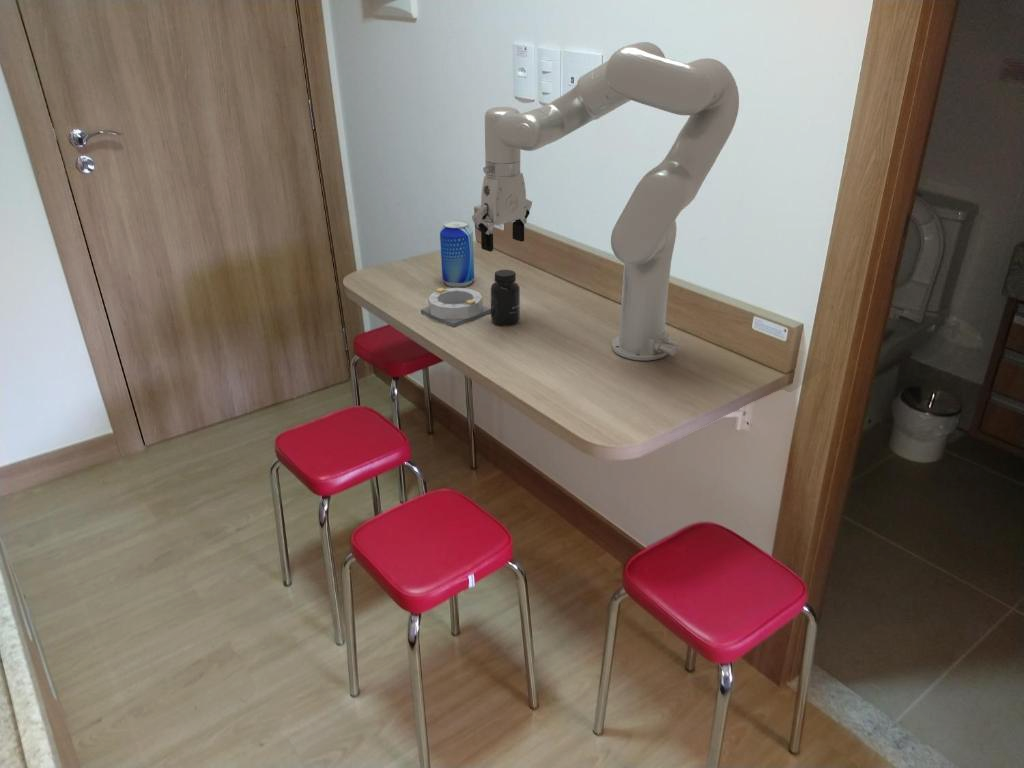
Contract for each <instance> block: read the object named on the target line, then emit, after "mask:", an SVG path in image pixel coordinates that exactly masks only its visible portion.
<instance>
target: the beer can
mask: <svg viewBox="0 0 1024 768" xmlns="http://www.w3.org/2000/svg"><path fill="white" fill-rule="evenodd" d="M439 240H440V243H439V244H440V256H441V257H440V259H441V260H440V261H441V274H442V275H441V277H442V281H444V283H445V284H447V286H448V287H450V288H451V287H452V288H465V287H468V286H470V285H471V284H472V283H473V281H474V280H475V263H474V260H475V259H474V256H475V255H474V231H473V230H472V228H471V226H470V225H469V221H467V220H463V219H451V220H446V221H444V222H443V223H442V228H441V230H440V232H439ZM469 284H470V285H469ZM467 285H468V286H467Z"/></svg>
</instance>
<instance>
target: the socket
mask: <svg viewBox="0 0 1024 768" xmlns="http://www.w3.org/2000/svg"><path fill="white" fill-rule="evenodd" d="M427 299H428V306H427V307H424V308H423V307H422V308H421V309H420V314H422V315H424V316H426V317H429V318H430V319H433V320H435V321H438V322H440V323H442V324H445V325H447V326H449V327H452V328H456V327H458V326H461V325H464V324H466V323H469V322H471V321H474V320H476V319H477V320H478V318H481V317H484V316H486V315H489V314H491V307H487V306H485V305H483V296H482V294H481V293H480V292H479V291H477V290H474V289H471V288H465V287H452V288H451V287H449V288H443V287H439V288H437V289H435V292H432V293H431V295H429V297H428V298H427Z"/></svg>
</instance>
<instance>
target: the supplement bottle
mask: <svg viewBox="0 0 1024 768" xmlns="http://www.w3.org/2000/svg"><path fill="white" fill-rule="evenodd" d="M516 279H517V278H516V272H515V271H514V270H512V269H500V270H499V269H498V270H496V271H495V272H494V282H493V283H492V284H491V286H490V309H491V313H490V320H491V322H492V323H493V324H494V325H496V326H500V327H510V326H514V325H516V324H518V323H519V322H520V319H521V317H520V316H521V315H520V314H521V288H520V287H521V286H520V285H519V284H518V283H517V281H516Z"/></svg>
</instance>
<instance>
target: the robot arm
mask: <svg viewBox="0 0 1024 768" xmlns="http://www.w3.org/2000/svg"><path fill="white" fill-rule="evenodd" d="M738 88H739V87H738V85H737V82H736V80H735V77H734V76H733V74H732V71H730V69H729V68H728V67H727V66H726V65H725V64H724V63H723V62H722V61H719V60H718V59H715V58H708V57H707V58H699V59H696V60H694V61H691V62H688V63H685V62H681V61H679V60H678V61H677V60H675V59H670V58H667V57H666V56H665V53H664V52H663V51H662V49H661V48H660V47H659V46H657V45H656V44H655V43H652V42H648V41H642V42H641V41H639V42H637V43H632V44H629V45H625V46H623V47H620V48H618V49H617V50H616V51H614V52H613V54H611V56H610V58H609V59H608V60H607V61H605V62H603V63H602V64H600V65H598V66H597V67H594V68H593V69H591V70H590V71H588V72H586V73H585V74H583V75H581V76H580V77H579V78H578V80H577V82H576V84H575V86H574V87H572V89H570V90H568V91H567V92H566V93H564V94H562V95H561V96H560V97H557V98H556V99H555V100H553V101H551V102H548V103H546V104H545V105H543V106H540V107H537V108H535V109H532V110H528V111H524V112H520V111H519V110H518V109H517V108H514V107H510V106H497V107H491V108H488V110H486V112H485V114H484V154H485V155H484V157H485V158H484V159H485V162H484V163H485V164H484V165H485V166H484V167H483V168H482V171H483V173H484V174H485V175H483V181H482V186H481V187H482V188H481V196H480V197H481V199H480V208H479V209H478V210H477V211H476V212H475V213H474V214H473V215H472V216H471V219H472V221H473V223H474V226H475V228H476V229H477V231H478V232H479V233H480V235H481V237H480V238H481V239H480V240H481V241H480V243H481V250H484V251H488V252H490V253H491V252H493V251H494V234H493V233H492V231H493V229H494V228H495V226H500V225H504V224H507V223H512V239H513V240H514V241H515V240H516V241H518V242H521V243H522V242H524V241H525V225H526V224H527V220H528V219H527V218H528V217H529V216H530V210H531V209H532V206H533V201H532V200H529V199H527V194H526V193H527V191H526V182H525V178H524V174H523V172H521V151H525V152H532V151H536V150H539V149H541V148H543V147H545V146H547V145H550V144H552V143H554V142H557V141H559V140H560V139H563V138H564V137H565V136H568V135H569V134H571V133H573V132H575V131H577V130H579V129H580V128H581V127H583V126H585V125H587V124H588V123H591V122H593V121H594V120H595V121H597V120H598V119H601V117H604V116H606V115H607V114H609V113H611V112H613V111H615V110H616V109H617V108H620V107H622V106H623V105H625V104H626V103H628V102H631V101H633V102H636V103H639V104H642V105H645V106H648V107H652V108H655V109H657V110H660V111H663V112H667V113H670V114H674V115H679V116H689V117H688V119H687V121H686V122H685V123H684V125H683V127H682V128H681V129H680V131H679V133H678V134H677V137H676V139H675V141H674V142H673V144H672V146H671V148H670V149H669V151H668V153H667V154H666V156H665V157H664V159H663V160H662V161H661V162H660V163H659V164H658V165H656V166H655V167H653V168H652V169H651V170H649V171H648V172H646V173H645V174H644V175H643V176H642V177H641V179H640V180H639V182H638V183H637V185H636V186H635V188H634V189H633V192H632V193H631V196H630V197H629V199H628V201H627V203H626V204H625V206H624V208H623V210H622V211H621V214H620V215H619V217H618V219H617V221H616V223H615V225H614V226H613V229H612V231H611V235H610V245H611V246H610V247H611V251H612V252H613V254H614V256H615V257H616V258H617V260H618V261H620V262H622V263H623V264H624V265H623V275H622V276H623V278H622V289H621V290H622V291H621V305H620V306H621V307H620V324H619V325H620V326H619V335H617V336H616V337H614V338H613V339H612V341H611V349H612V351H613V352H615V354H617V355H618V356H620V357H623V358H626V359H627V360H628V359H629V360H633V361H644V362H645V361H646V362H647V361H654V360H659V359H662V358H665V357H666V356H667V355H669V356H672V357H673V356H675V355H676V353H677V348H678V346H679V343H678V342H676V341H673V340H672V341H671V340H670V339H669V335H670V333H669V331H667V330H665V329H666V318H667V306H668V295H669V284H670V275H671V267H672V259H673V253H674V249H675V243H676V239H677V222H676V219H677V218H678V216H679V215H680V214H681V212H682V211H683V210H684V209H686V208H687V207H688V206H689V205H690V204H691V203H692V202H693V201H694V200H695V198H696V196H697V194H698V193H699V191H700V189H701V187H702V184H703V183H704V181H705V179H707V176H708V174H709V173H710V171H711V169H713V167H714V164H715V163H716V161H717V159H718V157H719V156H720V154H721V151H722V150H723V148H724V147H725V144H726V143H727V141H728V139H729V137H730V135H731V133H732V132H733V130H734V127H735V125H736V122H737V118H738V114H739V108H740V94H739V89H738Z"/></svg>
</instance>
